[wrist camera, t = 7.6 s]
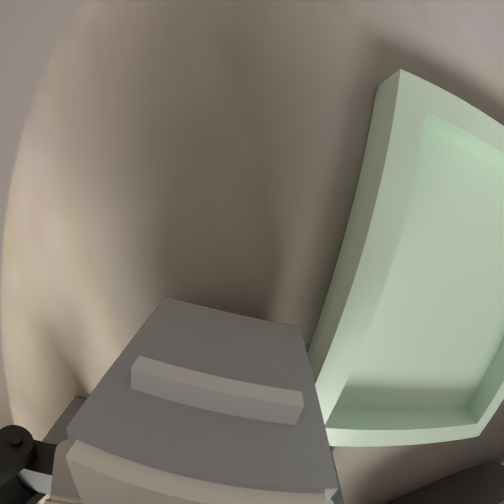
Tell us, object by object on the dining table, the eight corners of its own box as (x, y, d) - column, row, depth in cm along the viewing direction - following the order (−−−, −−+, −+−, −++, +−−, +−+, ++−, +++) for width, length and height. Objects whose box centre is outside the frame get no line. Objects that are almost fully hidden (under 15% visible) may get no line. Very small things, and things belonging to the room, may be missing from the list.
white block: (304, 312, 11) (358, 491, 4) (251, 460, 13) (245, 590, 5) (168, 281, 11) (47, 423, 3) (152, 438, 13) (106, 560, 5)
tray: (547, 183, 11) (575, 186, 9) (462, 414, 14) (478, 436, 12) (376, 86, 11) (400, 69, 8) (285, 409, 14) (288, 442, 12)
